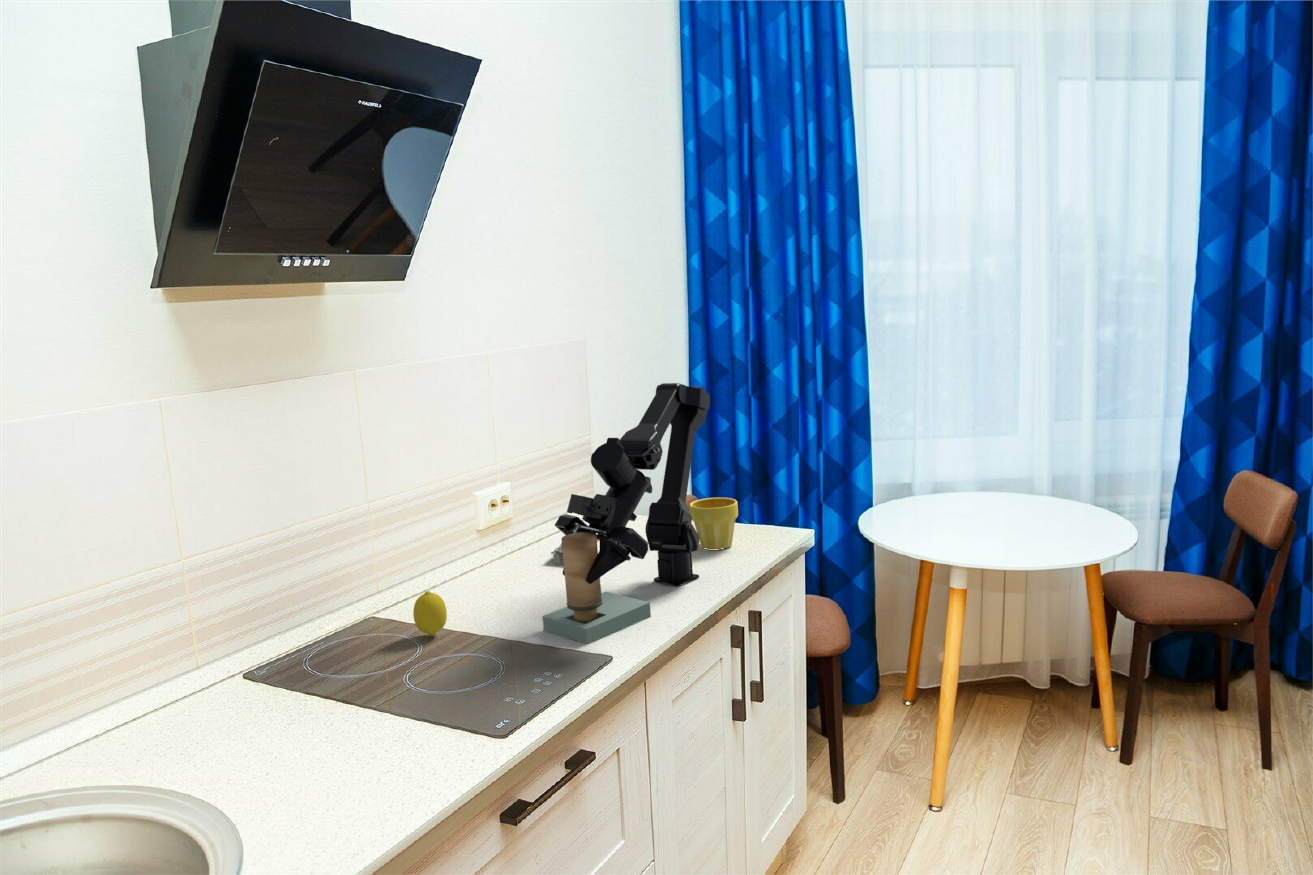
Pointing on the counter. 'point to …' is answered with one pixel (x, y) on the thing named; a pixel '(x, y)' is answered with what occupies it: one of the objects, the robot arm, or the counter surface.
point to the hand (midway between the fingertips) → (576, 579)
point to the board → (598, 618)
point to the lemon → (430, 613)
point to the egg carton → (558, 554)
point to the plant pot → (714, 521)
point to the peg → (581, 575)
